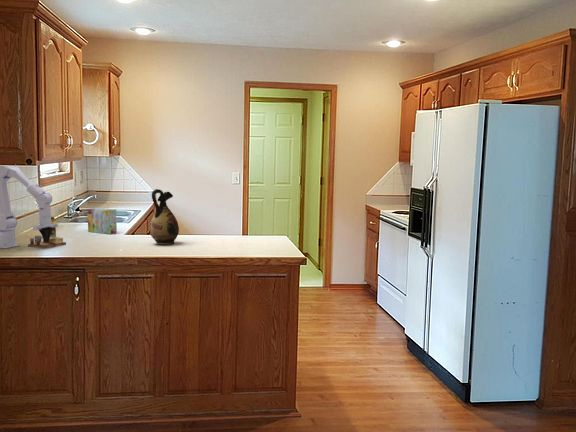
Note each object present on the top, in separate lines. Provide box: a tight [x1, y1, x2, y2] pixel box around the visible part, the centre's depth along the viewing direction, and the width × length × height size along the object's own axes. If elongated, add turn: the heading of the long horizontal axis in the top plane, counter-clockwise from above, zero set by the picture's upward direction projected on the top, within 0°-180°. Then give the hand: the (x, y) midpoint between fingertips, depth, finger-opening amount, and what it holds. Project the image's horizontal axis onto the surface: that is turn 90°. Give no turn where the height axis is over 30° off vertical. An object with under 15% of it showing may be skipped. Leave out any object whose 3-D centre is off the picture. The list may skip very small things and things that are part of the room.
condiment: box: [41, 216, 57, 240], centre depth 336 cm, size 7×8×12 cm
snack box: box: [86, 207, 118, 235], centre depth 354 cm, size 21×6×15 cm, turn 58°
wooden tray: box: [27, 237, 67, 249], centre depth 308 cm, size 13×14×4 cm
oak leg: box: [48, 236, 64, 244], centre depth 309 cm, size 10×5×2 cm, turn 64°
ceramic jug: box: [149, 188, 180, 246], centre depth 309 cm, size 17×15×30 cm
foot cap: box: [34, 235, 43, 243], centre depth 316 cm, size 3×3×4 cm
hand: (46, 241), depth 302 cm, fingers closed
